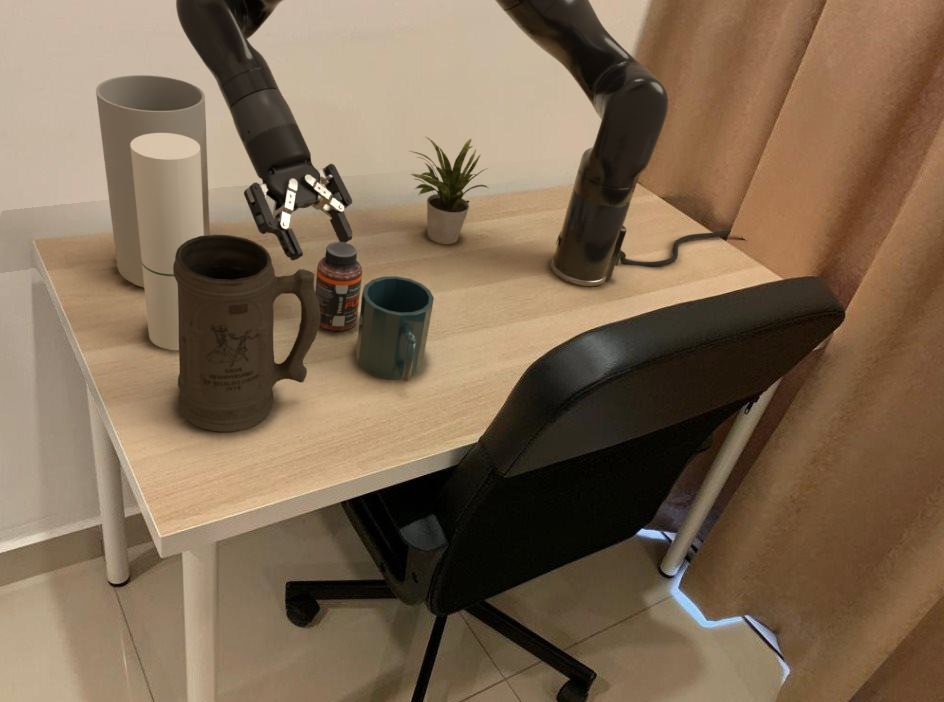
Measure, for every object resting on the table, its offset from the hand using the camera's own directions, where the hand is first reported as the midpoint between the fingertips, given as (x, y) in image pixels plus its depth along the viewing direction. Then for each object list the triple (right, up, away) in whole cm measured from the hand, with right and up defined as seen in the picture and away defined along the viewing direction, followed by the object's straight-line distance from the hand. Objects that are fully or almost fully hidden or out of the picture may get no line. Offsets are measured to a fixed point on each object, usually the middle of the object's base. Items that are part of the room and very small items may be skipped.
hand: (323, 249), depth 102 cm
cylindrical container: (-18, -12, -3) cm, 22 cm away
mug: (+9, -15, -2) cm, 18 cm away
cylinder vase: (-24, -2, +8) cm, 25 cm away
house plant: (+15, +8, +30) cm, 35 cm away
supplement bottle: (+1, -9, +5) cm, 10 cm away
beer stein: (-7, -20, -11) cm, 24 cm away
